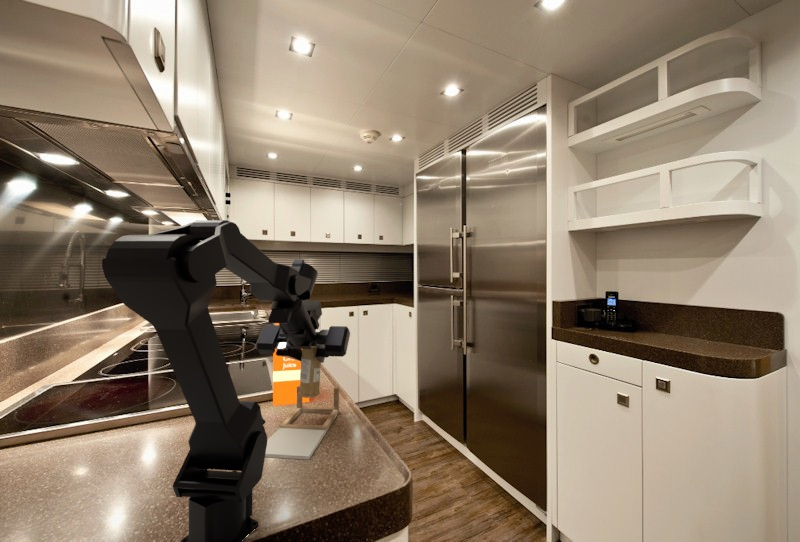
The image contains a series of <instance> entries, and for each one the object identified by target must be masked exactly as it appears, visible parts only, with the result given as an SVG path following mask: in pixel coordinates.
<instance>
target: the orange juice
mask: <svg viewBox="0 0 800 542" xmlns="http://www.w3.org/2000/svg"><path fill="white" fill-rule="evenodd" d="M274 325H279V323H274ZM301 350H302V349H301ZM276 351H277V350H276V349H275V352H274V353H273V354H272V355H273V357H272V361H273V363H272V367H273V368H272V383H273V384H272V406H273V407H275V406H287V405H297V404H296V403H297V386H300V371H301V362H300V361H296V360H293V359H290V358H286V357H282V356H277V355H276ZM305 402H309V403H310V398H304V397H302V404H306V403H305Z"/></svg>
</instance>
